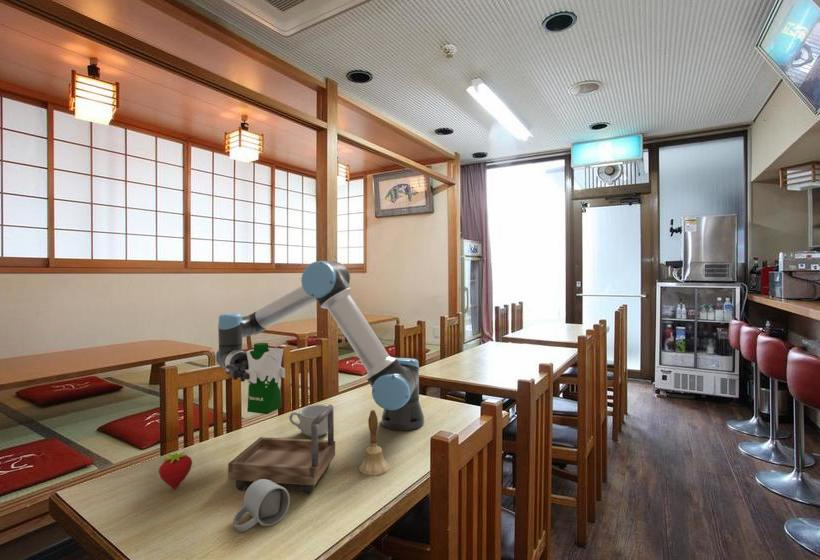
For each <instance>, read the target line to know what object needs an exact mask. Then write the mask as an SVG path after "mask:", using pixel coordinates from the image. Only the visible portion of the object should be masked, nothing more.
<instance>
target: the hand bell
mask: <svg viewBox="0 0 820 560" xmlns="http://www.w3.org/2000/svg"><path fill="white" fill-rule="evenodd" d="M367 421H368V429H369V432H370V446H368V447H366V449H365V454H364V459H363V461H362V462H361V464H360V465H359V467H358V470H359V472H360V473H361V474H362V475H364V476H370V477H371V476H372V477H373V476H381V475H384V474H386V473H387V472H388V471H389V470H390V465H389V463H388V462H387V461H386V460H385V458H384V455H383V449H382V447H381V446H379V445H378V442H377V431H378V426H379V422H378V421H379V420H378V416H377V412H376V410H375V409H372V410H370V413H369V416H368V420H367Z"/></svg>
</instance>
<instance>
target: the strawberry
mask: <svg viewBox="0 0 820 560" xmlns="http://www.w3.org/2000/svg"><path fill="white" fill-rule="evenodd" d="M176 451H177V449H175V450H174V451H173V453H175V452H176ZM184 453H185V451H184V452H181V453H177V452H176V453H175V454H168V457H166V458H164V459H163V460H162V461H163V462H162V463H161V465H160V466H159V470H158V474H159V476H160V479H161V480H162V481H163V482H164V483H165V484H166V485H168V486H169V487H170V488H172V489H177V488H179V487H180V485H181V484H182V482H183V481H185V479H186V477H187V476H188V474H189V473H190V471H191V469H192V464H193V461H192V458H191V457H190V456H188V455H187V454H184Z"/></svg>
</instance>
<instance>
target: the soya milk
mask: <svg viewBox="0 0 820 560" xmlns="http://www.w3.org/2000/svg"><path fill="white" fill-rule="evenodd" d="M284 349H285V348H281V347H280V348H278V347H269V343H267V342H258V343H253V349H250V350H246V351H245V352H246V353H247V358H248V364H249V370H250V371H252V372H254V373H256V374H257V383H252V382H250V381H248V380H247V382H248V386H247V387H248V391H247V392H248V393H247V394H248V395H247V409H246V411H247V413H253V414H262V415H263V414H264V415H269V414H271V413H273V412H274V411H277V410H279V409H280V408H282V407H283V406H282V391H281V389H282V387H281V386H282V377H280V368H281V363H282V361H283V354H284V351H285V350H284Z"/></svg>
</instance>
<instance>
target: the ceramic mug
mask: <svg viewBox="0 0 820 560" xmlns="http://www.w3.org/2000/svg"><path fill="white" fill-rule="evenodd" d="M290 500H291V499H290V493H289V492H288V490H287V489H286V488H285V487H284V486H282V485H280V484H279V483H274V482H272V481H270V480H267V479H260V480H257V481H252V482H251V484H250V485H248V486H247V487H246V490H245V493H244V496H243V505H244V506H243V507H241V508H240V510H238V511H237V512H236V514H234V518H233V520H232V524H233V527H234V528H235V530H236V531H237V532H239V533H240V532H245V531H247V530H249V529H251V528H252V527H254V526H255V525H256V524H257V523H259V524H260V526H261V525H262V526H263V527H270V526H272V525H275V524H277V523H279V522H280V521H281V520H282V519H283V518H284V516H285V515H286V513H288V509H289V506H290ZM247 512H248V514H250V515H251V516H252V518H250V519H249V520H248V521H246V522H244V523H243V524H240V523H239V521H240V519H241V518H243V516H244V515H245V514H246V513H247Z"/></svg>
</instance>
